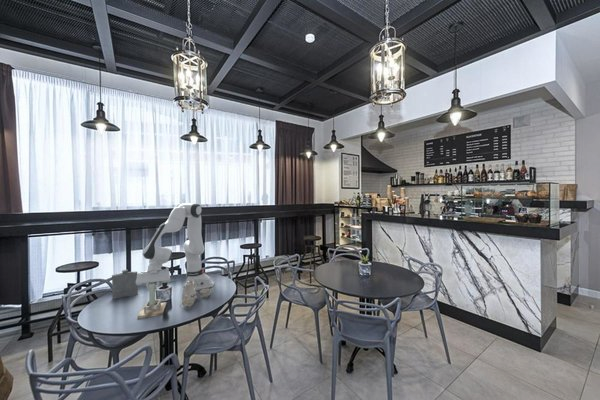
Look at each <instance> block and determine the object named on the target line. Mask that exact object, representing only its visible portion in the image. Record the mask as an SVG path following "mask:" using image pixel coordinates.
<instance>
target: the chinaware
mask: <svg viewBox="0 0 600 400" xmlns="http://www.w3.org/2000/svg"><path fill="white" fill-rule="evenodd" d="M195 282H196V281H194V282H193V281H191V280H190V279H189V281H188V282H187V281H186V282H185V283H184V285H183V286H182V288H183V291H182V296H181V304H180V305H179V308H180V309H183V308H184V309H186V310H187V309H191V308H192V306H193V305H194V303H195V302H196V301H197V299H198V297H199V295H198V293H197V290H195V289H196V288H197V282H196V288H195V289H194V283H195ZM185 286H186V287H185ZM198 291H199V294H200V296H201V297H202V298H203V299H207V298H208V297H209V295H210V294H211V292H212V289H210V288H205V289H200V290H198ZM181 305H182V306H183V307H181Z"/></svg>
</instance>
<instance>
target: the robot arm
mask: <svg viewBox="0 0 600 400" xmlns="http://www.w3.org/2000/svg"><path fill="white" fill-rule="evenodd" d="M202 212H203V208H202V206H201V204H198V203H192V202H191V203H190V202H186V203H177V204H176V205H175V206H174V208H173V209H172V210H171V212H170V214H169V216H168V219H167V220H166V221H165V222H163V223H161V224H160V225H159V227H158V228H157V229H156V231H155V233H154V234H153V235H152V237H151V238H150V240H149V242H148V243H147V245H146V246H145V247H144V248H143V251H142V256H143V257H144V259H147V260H148V266H147V270H146V271H140V272H137V279H136V285H137V286H146V291H149V286H150V284H151V283H155V286H154V290H155V291H156V290H158V287H159V286H160V284H164V283H170V281H171V275H170V274H171V273H170V271H169V270H170V269H169V267H168V266H163V265H164V264H166V263H168V262H170V261H171V260H172V257H173V251H172V250H171V249H170V248H168V247H163V246H160V245H158V242H159V240H160V239H161V238H162V236H163V235H164V234H166V233H176V232H179V231H180V230H181V229H182V228H183V225H184V223H185V220H186V218H187V224H186V225H187V226H186V235H187V238H188V240H186V241H185V242H184V243H183V245H182V246H183V250H184V255H185V260H186V270H185V271H186V273H185V274H186V276H185V277H186V282H188V281H189V279H190V280H191V281H193V282H194V281H196V282H197V288H196V282H195V283H194V289H195V288H196V289H195V290H196V291H201V290H202V289H207V288H209V289H210V288H212V287H214V286H215V282H214V281H213V280H212V279H211V276H209V274H206V273H205V269H204V268H202V260H201V257H200V255H202V254H204V252H205V250H206V248H205V245H204V242H203V236H202V221H203V220H202V215H201V214H202ZM184 286H185V287H186V285H184Z"/></svg>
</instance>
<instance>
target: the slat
mask: <svg viewBox="0 0 600 400" xmlns="http://www.w3.org/2000/svg"><path fill="white" fill-rule="evenodd" d="M154 286H156V284H155V283H151V284H149V290H148V295H149V296H148V301H149V306H152V305H155V300H156V289H155V290H154Z"/></svg>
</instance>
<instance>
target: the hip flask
mask: <svg viewBox="0 0 600 400" xmlns="http://www.w3.org/2000/svg"><path fill="white" fill-rule="evenodd" d="M137 274H138V271H128V269H123V270H122V271H121V273H116V274H112V275H111V284H112V285H111V287H112V288H111V289H112V292H111V293H112V299H113V300H115V298H116V299H118V298H124V297H129V296H130V297H131V296H136V295H138V294H139V287H138V286H137V285H136V279H137Z"/></svg>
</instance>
